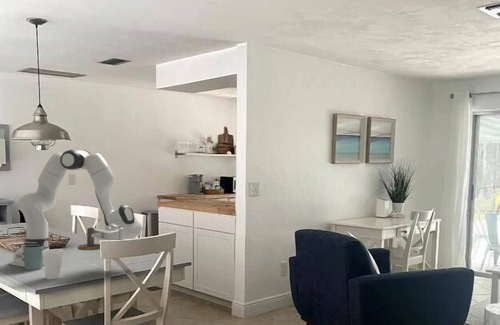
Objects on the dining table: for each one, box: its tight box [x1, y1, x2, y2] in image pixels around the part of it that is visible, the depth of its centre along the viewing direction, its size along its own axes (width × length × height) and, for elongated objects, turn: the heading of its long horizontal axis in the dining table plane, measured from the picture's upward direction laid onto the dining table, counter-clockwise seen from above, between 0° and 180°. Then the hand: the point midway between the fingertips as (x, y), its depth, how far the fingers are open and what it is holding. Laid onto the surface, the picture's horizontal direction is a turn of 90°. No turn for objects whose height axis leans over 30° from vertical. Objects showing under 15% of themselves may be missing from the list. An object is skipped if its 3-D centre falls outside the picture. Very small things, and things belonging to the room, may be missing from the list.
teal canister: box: [22, 244, 44, 272], centre depth 254 cm, size 10×10×12 cm
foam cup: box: [42, 248, 64, 280], centre depth 235 cm, size 10×9×13 cm
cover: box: [77, 227, 101, 251], centre depth 242 cm, size 12×12×10 cm
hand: (89, 235), depth 241 cm, fingers closed on cover, 3 cm apart
